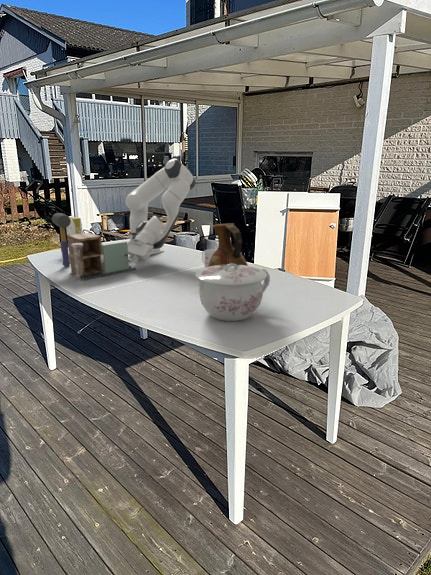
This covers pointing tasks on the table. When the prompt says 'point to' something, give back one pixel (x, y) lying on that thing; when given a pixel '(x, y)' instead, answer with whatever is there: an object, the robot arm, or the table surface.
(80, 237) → the walnut cabinet
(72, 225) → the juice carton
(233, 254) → the ceramic pitcher
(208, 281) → the chamber pot
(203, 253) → the mug
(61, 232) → the rubber mallet
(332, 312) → the table surface
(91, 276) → the door track
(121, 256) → the cabinet door
